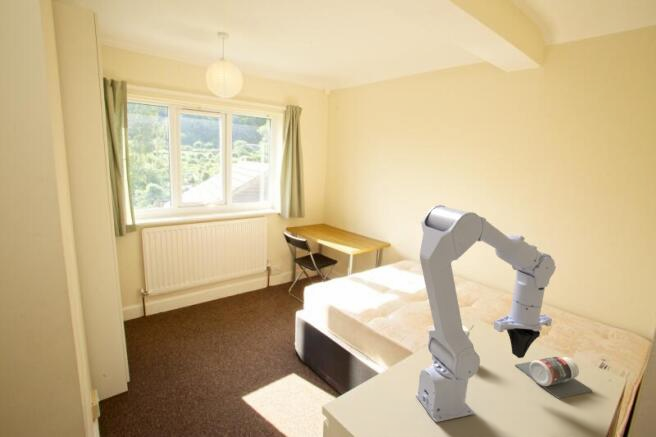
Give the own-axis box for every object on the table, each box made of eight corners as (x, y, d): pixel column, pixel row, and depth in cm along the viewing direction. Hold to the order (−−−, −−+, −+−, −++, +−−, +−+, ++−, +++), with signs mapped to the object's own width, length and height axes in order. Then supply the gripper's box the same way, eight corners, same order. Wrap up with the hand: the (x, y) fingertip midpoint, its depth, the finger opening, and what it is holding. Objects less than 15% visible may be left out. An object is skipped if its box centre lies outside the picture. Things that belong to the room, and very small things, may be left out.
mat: (557, 398, 73) (558, 397, 73) (514, 365, 84) (515, 364, 84) (591, 391, 75) (592, 389, 75) (545, 360, 87) (545, 359, 87)
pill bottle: (540, 357, 76) (570, 351, 79) (524, 364, 80) (553, 358, 83) (555, 383, 72) (586, 376, 75) (538, 389, 77) (568, 382, 79)
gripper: (515, 312, 66) (505, 370, 69) (568, 306, 70) (557, 361, 72) (490, 298, 73) (482, 351, 75) (540, 293, 77) (531, 344, 79)
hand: (517, 355), depth 74 cm, fingers closed
